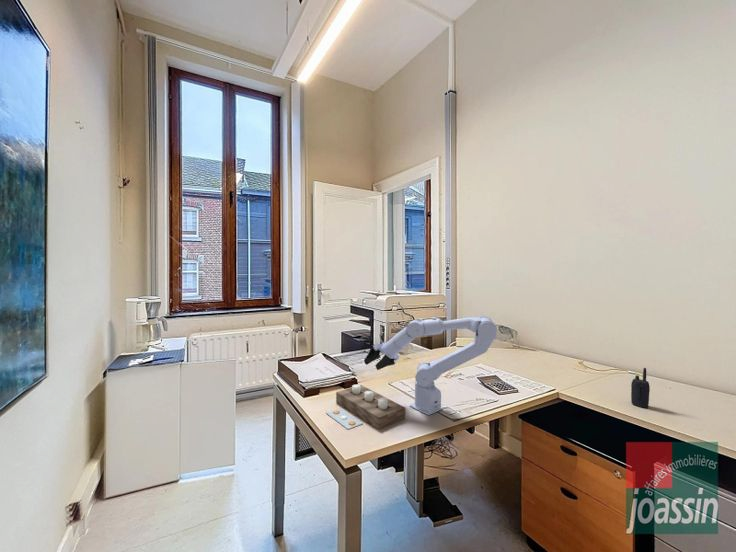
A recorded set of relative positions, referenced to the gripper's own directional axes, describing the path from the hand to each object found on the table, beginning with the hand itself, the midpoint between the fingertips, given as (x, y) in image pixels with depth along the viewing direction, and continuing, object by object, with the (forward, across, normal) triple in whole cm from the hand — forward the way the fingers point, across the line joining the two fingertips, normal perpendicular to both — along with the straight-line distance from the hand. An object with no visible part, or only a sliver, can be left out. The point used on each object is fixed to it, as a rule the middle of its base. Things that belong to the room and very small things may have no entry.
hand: (370, 365), depth 125 cm
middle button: (+7, -1, +12) cm, 14 cm away
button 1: (+12, -2, +5) cm, 13 cm away
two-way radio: (-65, -66, +46) cm, 103 cm away
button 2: (+3, 0, +18) cm, 18 cm away
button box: (+9, -2, +13) cm, 16 cm away
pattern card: (+14, +7, +15) cm, 22 cm away
